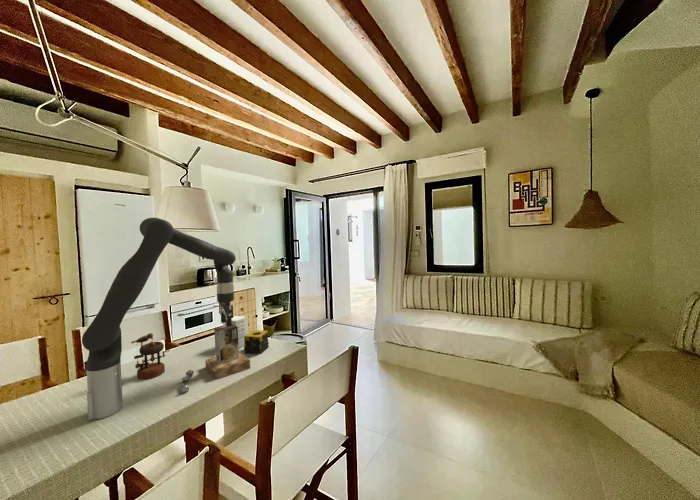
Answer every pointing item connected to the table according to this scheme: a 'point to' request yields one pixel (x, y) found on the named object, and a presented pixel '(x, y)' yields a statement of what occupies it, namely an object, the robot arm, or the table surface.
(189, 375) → the bolt
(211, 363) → the stand
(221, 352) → the coffee box
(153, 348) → the music box
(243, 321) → the supplement box
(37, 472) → the table surface
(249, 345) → the yellow black tissue box
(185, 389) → the bolt
